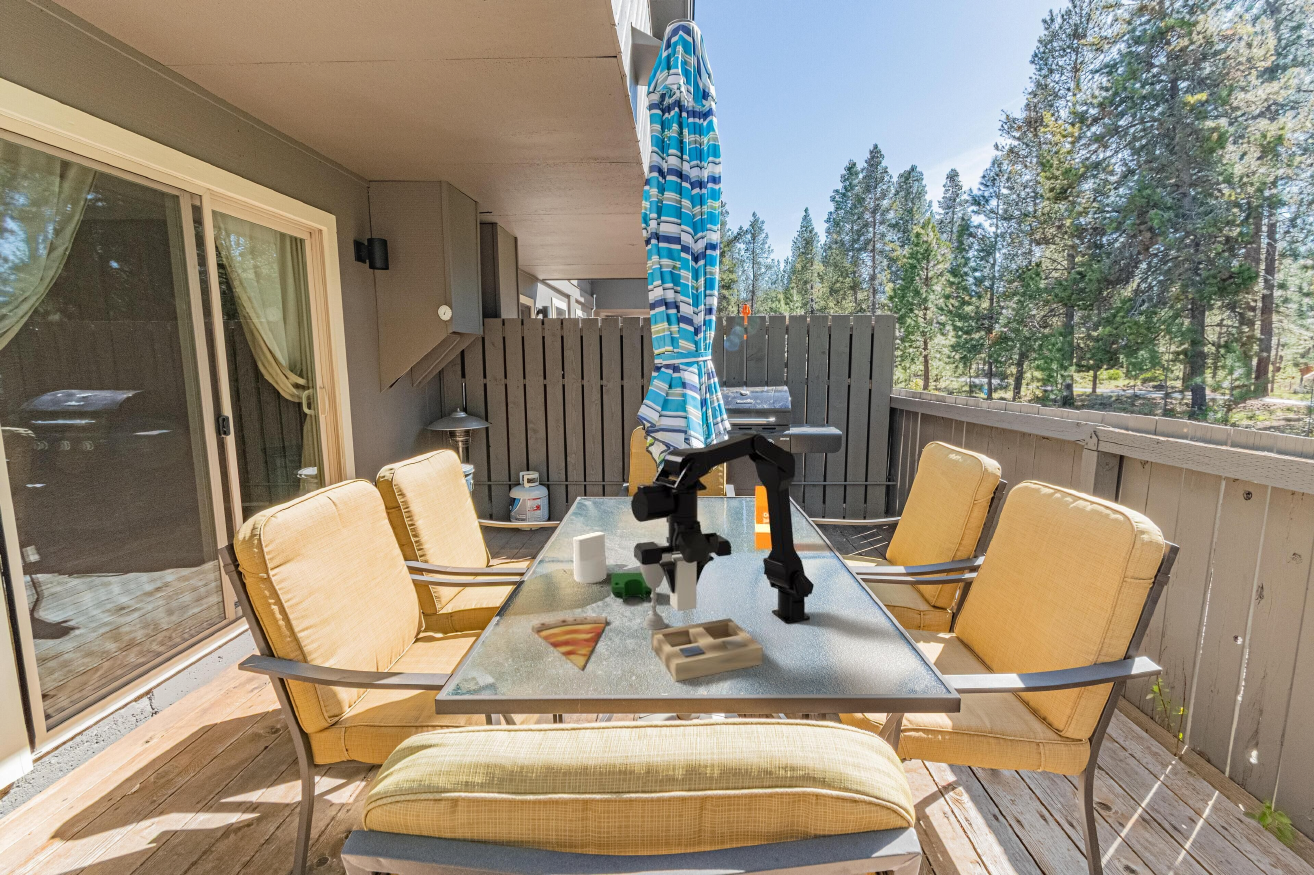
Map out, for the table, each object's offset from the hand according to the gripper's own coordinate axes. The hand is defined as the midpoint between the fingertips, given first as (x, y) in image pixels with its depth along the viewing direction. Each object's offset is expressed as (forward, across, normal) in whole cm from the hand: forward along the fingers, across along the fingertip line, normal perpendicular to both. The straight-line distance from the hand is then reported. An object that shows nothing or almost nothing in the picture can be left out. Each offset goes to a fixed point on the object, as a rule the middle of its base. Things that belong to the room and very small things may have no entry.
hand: (682, 591), depth 114 cm
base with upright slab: (+14, -8, +50) cm, 53 cm away
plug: (+3, 0, 0) cm, 3 cm away
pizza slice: (+14, -22, +15) cm, 30 cm away
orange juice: (+13, +52, +56) cm, 78 cm away
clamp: (+14, 0, +32) cm, 35 cm away
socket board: (+13, +4, -2) cm, 14 cm away
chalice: (+14, -1, +15) cm, 20 cm away
